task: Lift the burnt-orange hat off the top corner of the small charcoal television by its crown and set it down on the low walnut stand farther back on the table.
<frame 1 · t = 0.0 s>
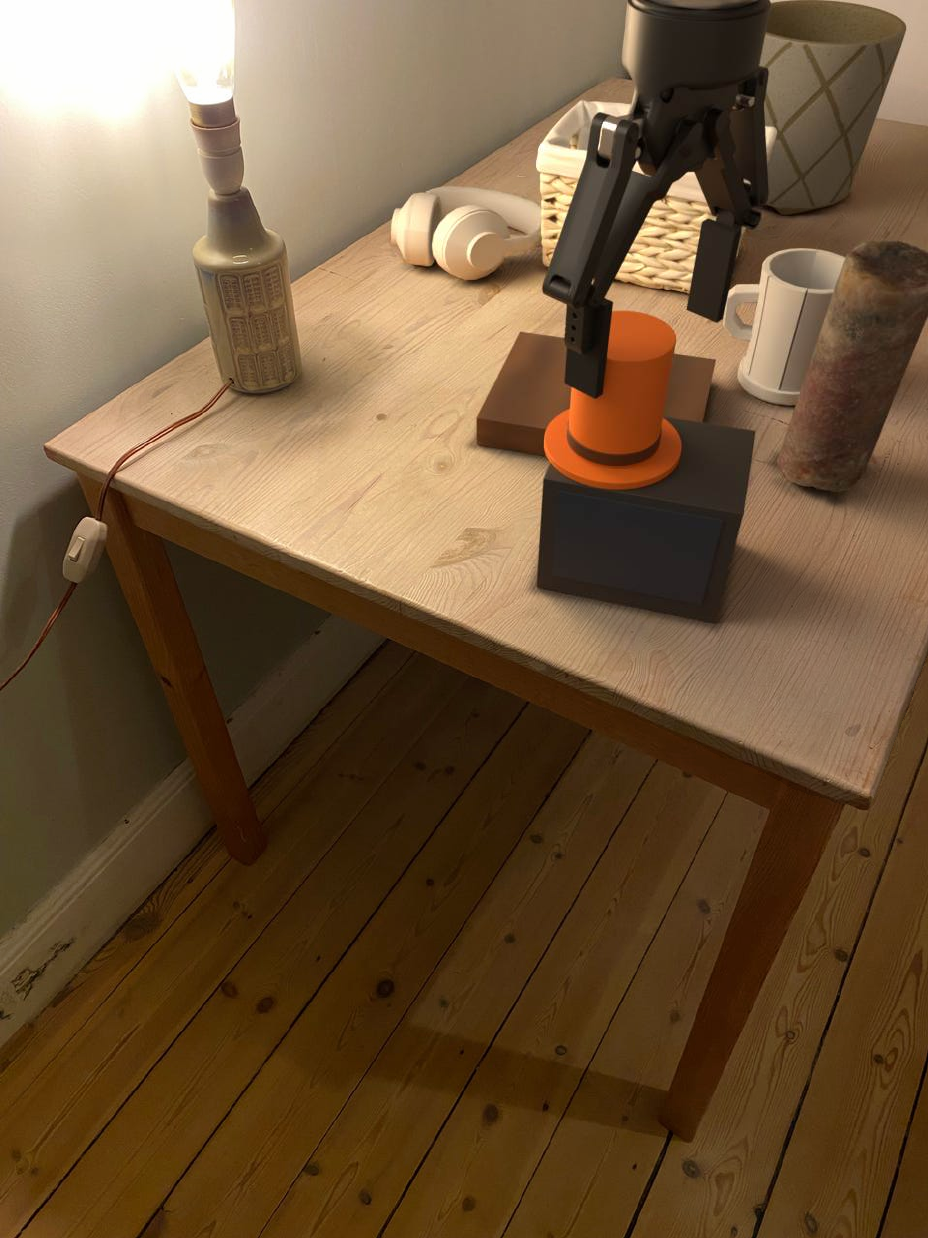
hand: (646, 350, 64), 18 cm above the table, tool pointing down, fingers open, 13 cm apart
planter: (782, 191, 125), on the table
basket: (642, 263, 111), on the table
cup: (772, 385, 92), on the table
television: (633, 563, 75), on the table
hat: (611, 446, 67), point 11 cm above the table, touching television
tv stand: (597, 413, 89), on the table
headphones: (470, 253, 113), on the table
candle: (818, 476, 82), on the table
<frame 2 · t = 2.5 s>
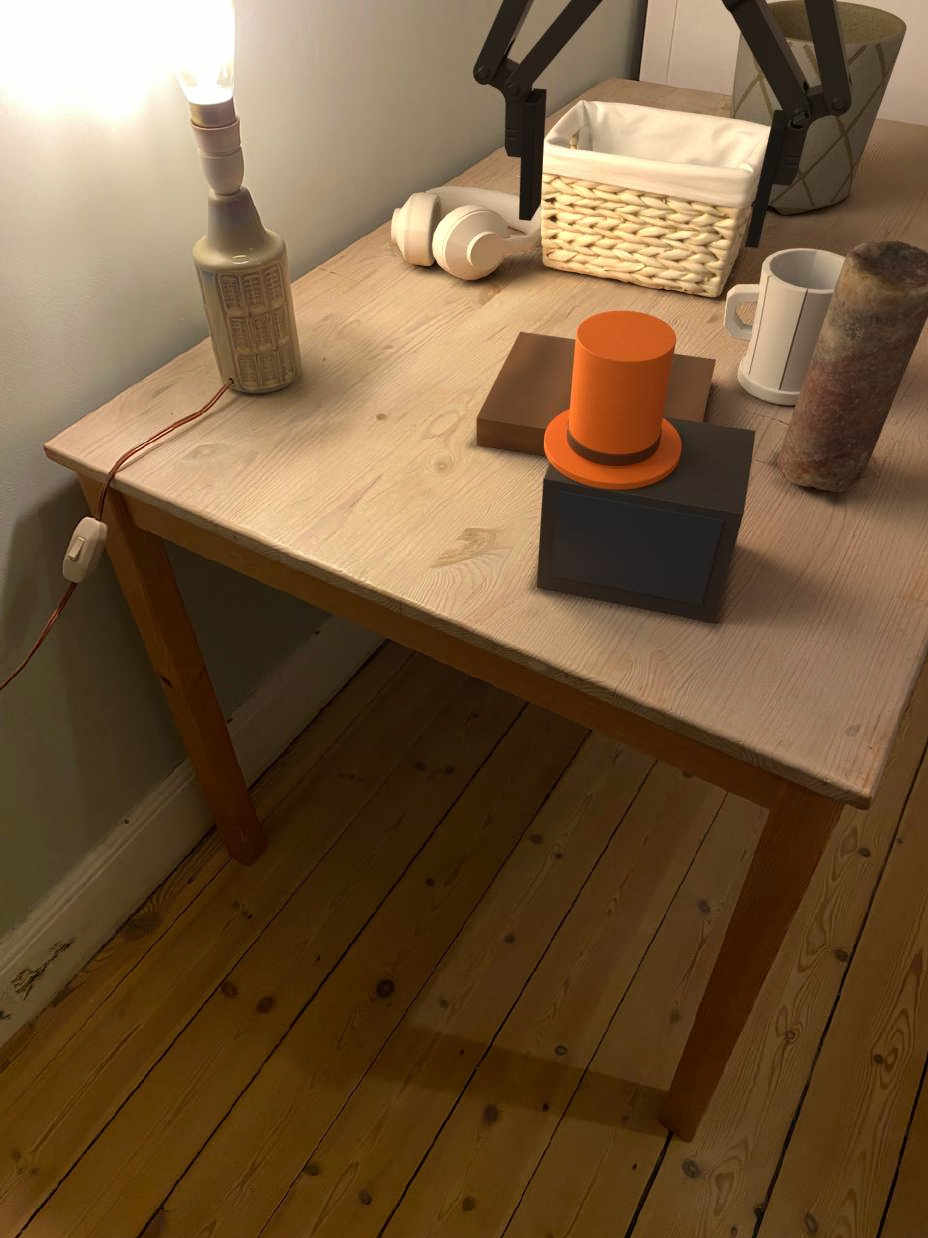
hand: (638, 224, 55), 27 cm above the table, tool pointing down, fingers open, 13 cm apart
nothing on the table moved.
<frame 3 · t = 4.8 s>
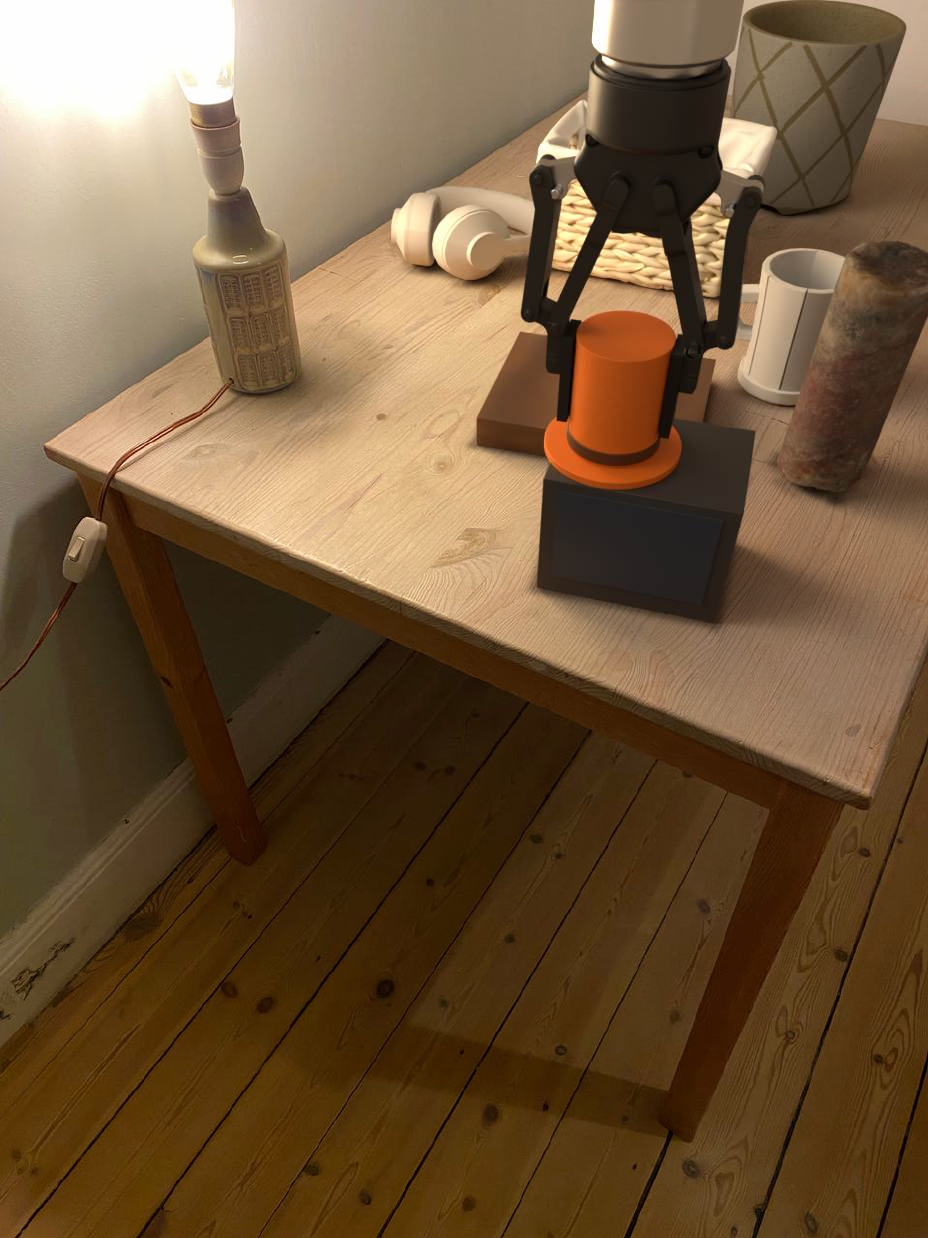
hand: (615, 418, 65), 13 cm above the table, tool pointing down, fingers closed on hat, 7 cm apart
hat: (611, 447, 67), point 11 cm above the table, touching gripper, television
everything else where it was.
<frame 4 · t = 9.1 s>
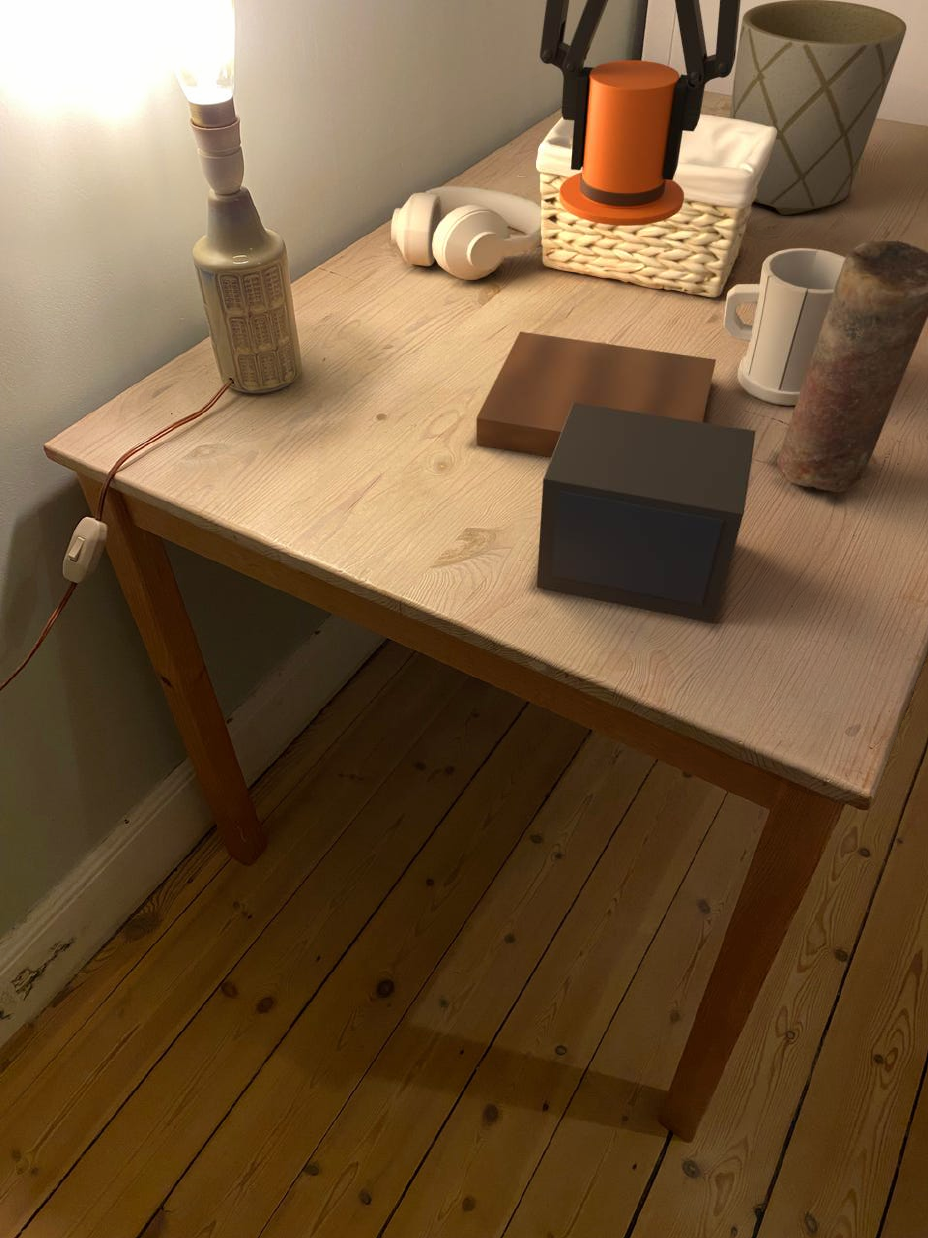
hand: (624, 167, 72), 23 cm above the table, tool pointing down, fingers closed on hat, 7 cm apart
hat: (620, 198, 74), point 21 cm above the table, touching gripper
everything else where it was.
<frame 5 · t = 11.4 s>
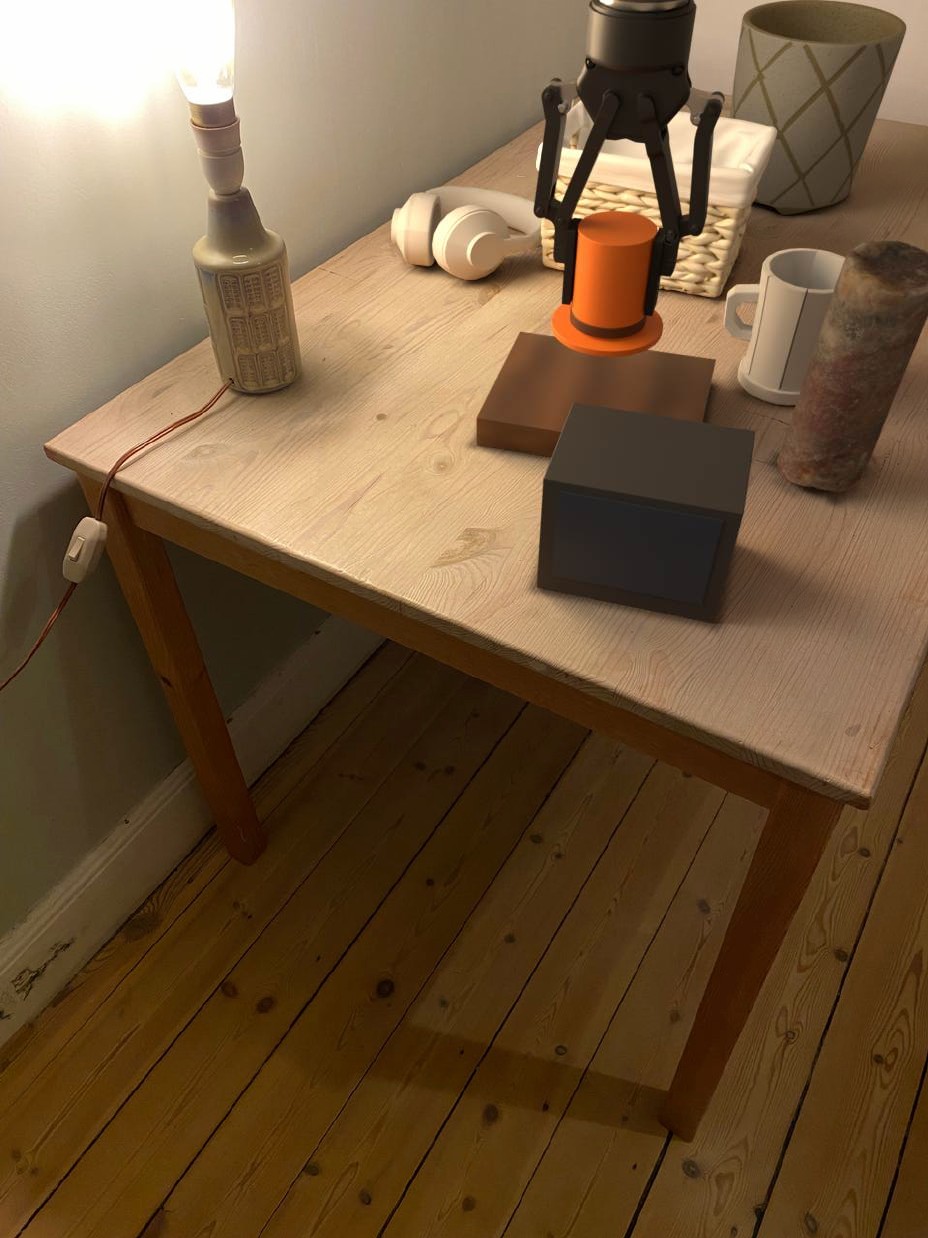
hand: (609, 302, 81), 12 cm above the table, tool pointing down, fingers closed on hat, 7 cm apart
hat: (606, 327, 82), point 9 cm above the table, touching gripper
everything else where it was.
when the fingers open (5 cm above the table, at t = 13.3 s): hat stays where it is, resting on tv stand.
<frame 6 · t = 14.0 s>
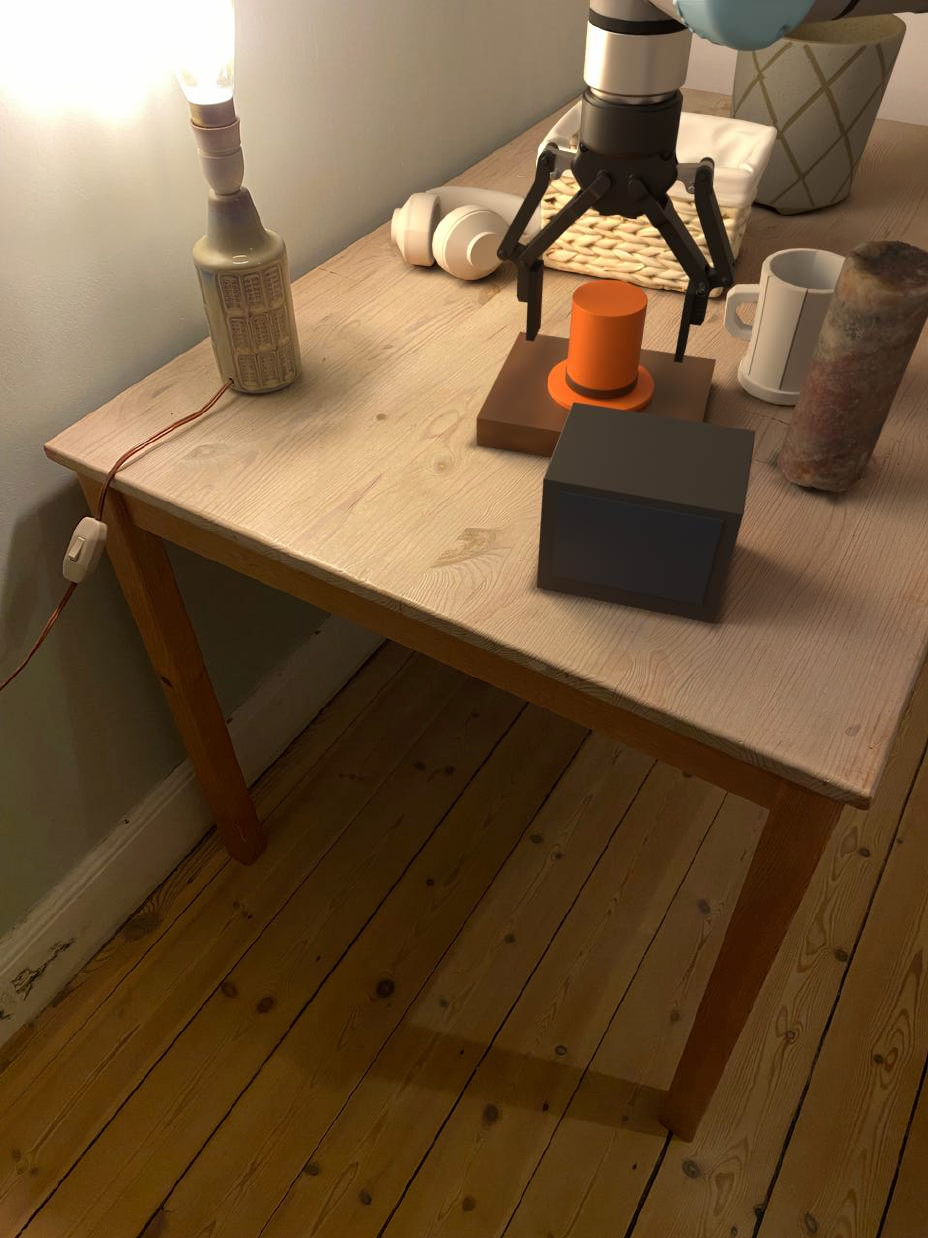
hand: (605, 344, 84), 8 cm above the table, tool pointing down, fingers open, 13 cm apart
hat: (600, 386, 87), point 3 cm above the table, touching tv stand
everything else where it was.
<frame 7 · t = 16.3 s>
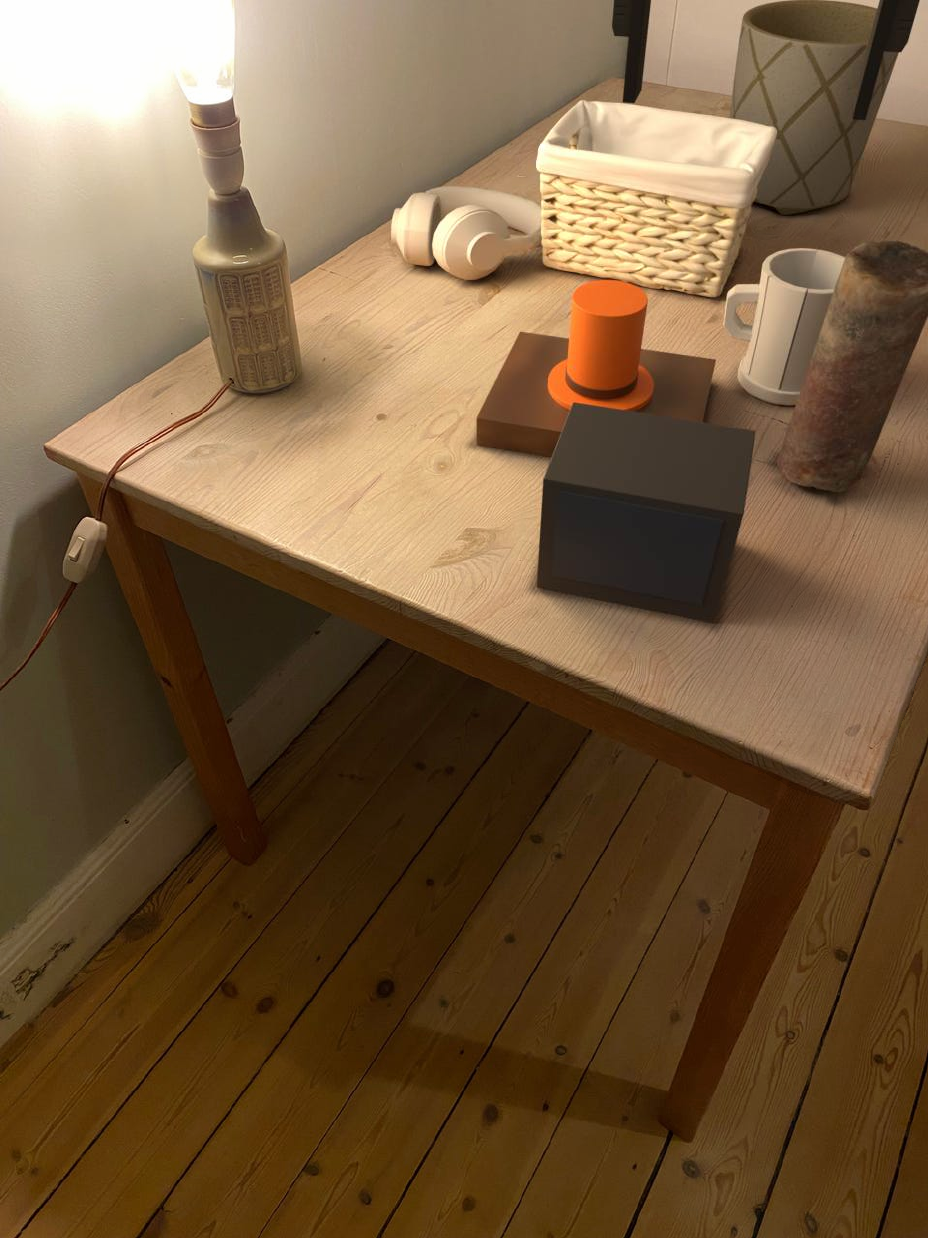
hand: (742, 104, 56), 32 cm above the table, tool pointing down, fingers open, 13 cm apart
nothing on the table moved.
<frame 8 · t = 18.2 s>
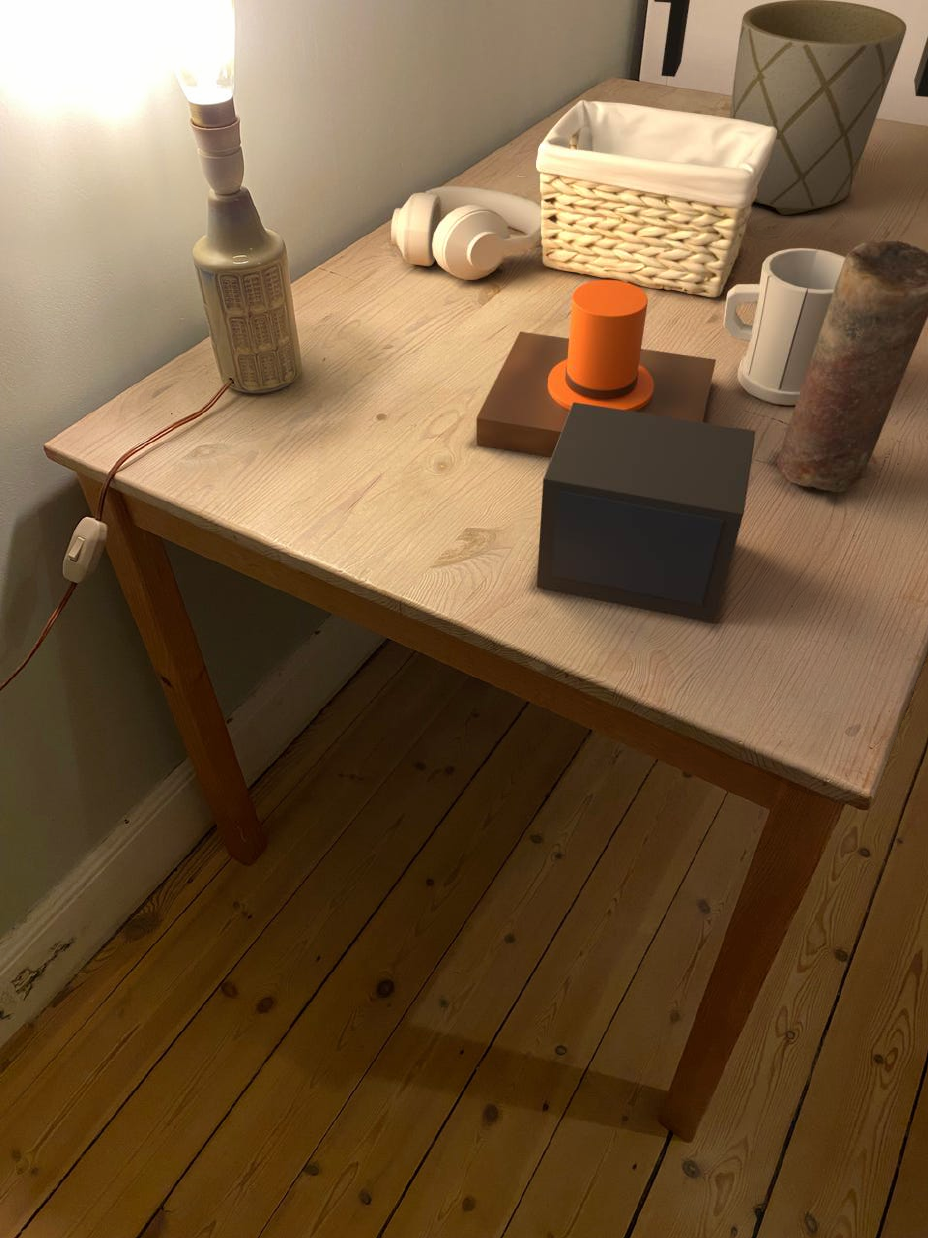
hand: (793, 79, 51), 35 cm above the table, tool pointing down, fingers open, 13 cm apart
nothing on the table moved.
at the end: hat inside the target area on the tv stand (0.1 cm from its centre), point 3.0 cm above the tv stand's base; hat tilted 0°; the gripper is holding nothing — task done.
